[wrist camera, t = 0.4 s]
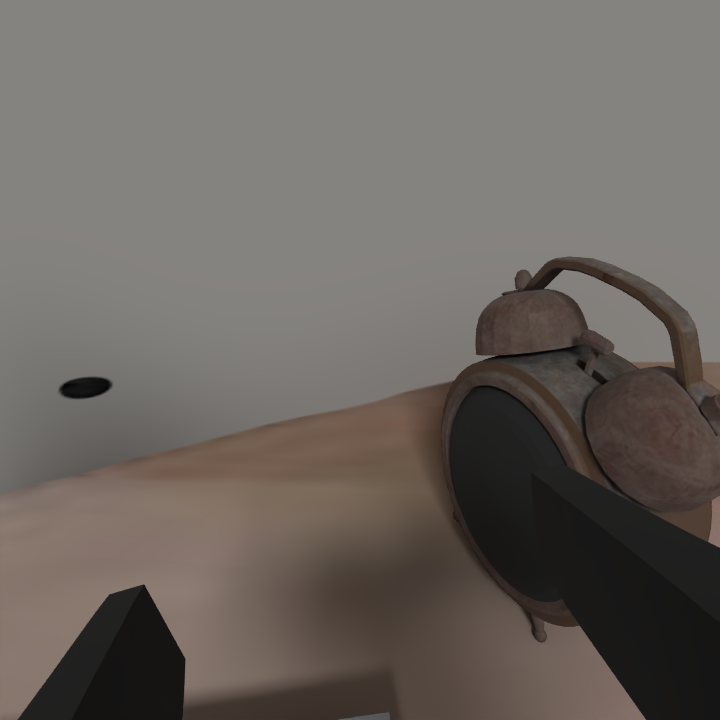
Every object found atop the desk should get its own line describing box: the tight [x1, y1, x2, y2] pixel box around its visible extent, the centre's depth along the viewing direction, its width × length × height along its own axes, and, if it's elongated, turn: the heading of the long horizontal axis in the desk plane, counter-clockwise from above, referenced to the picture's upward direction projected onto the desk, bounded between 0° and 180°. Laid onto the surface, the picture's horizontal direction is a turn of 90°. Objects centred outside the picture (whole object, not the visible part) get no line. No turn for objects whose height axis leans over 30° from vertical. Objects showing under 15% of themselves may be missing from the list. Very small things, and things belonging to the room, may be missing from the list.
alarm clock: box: [442, 257, 720, 642], centre depth 26 cm, size 15×7×20 cm, turn 22°
